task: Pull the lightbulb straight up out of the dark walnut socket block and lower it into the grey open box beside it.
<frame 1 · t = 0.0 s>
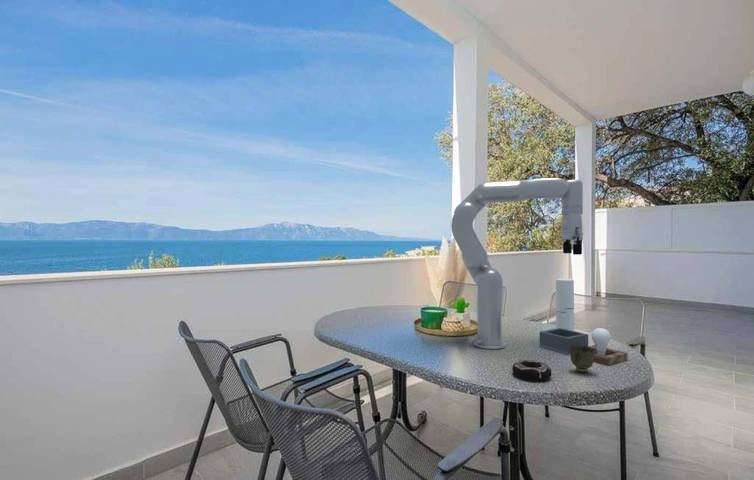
hand: (572, 253, 157), 37 cm above the table, tool pointing down, fingers open, 9 cm apart
donut: (531, 377, 125), on the table
socket block: (601, 358, 142), on the table
grey open box: (563, 348, 155), on the table
lightbulb: (601, 358, 142), resting in socket block
cylindrical container: (564, 335, 174), on the table
cup: (581, 372, 128), on the table
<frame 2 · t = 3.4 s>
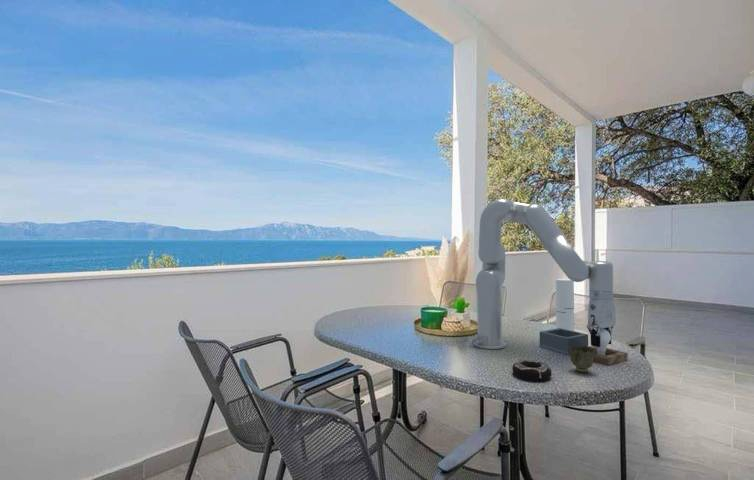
hand: (601, 344, 142), 5 cm above the table, tool pointing down, fingers closed on lightbulb, 6 cm apart
lightbulb: (601, 358, 142), resting in socket block, touching gripper
everything else where it was.
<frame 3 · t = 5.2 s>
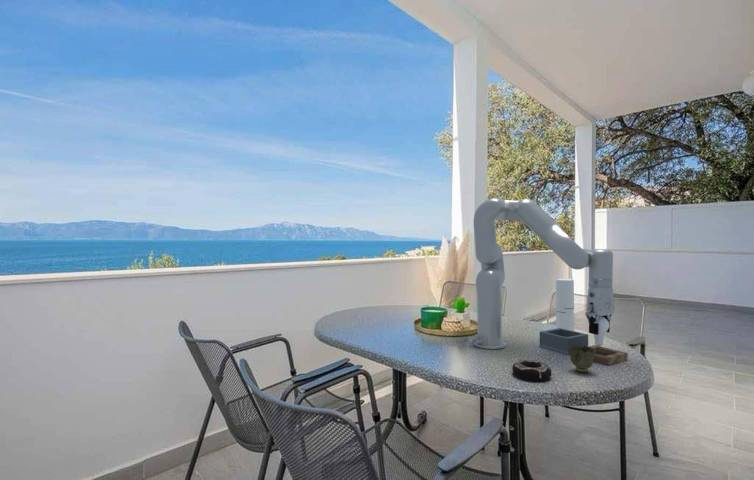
hand: (599, 332, 142), 9 cm above the table, tool pointing down, fingers closed on lightbulb, 6 cm apart
lightbulb: (598, 346, 142), point 4 cm above the table, touching gripper
everything else where it was.
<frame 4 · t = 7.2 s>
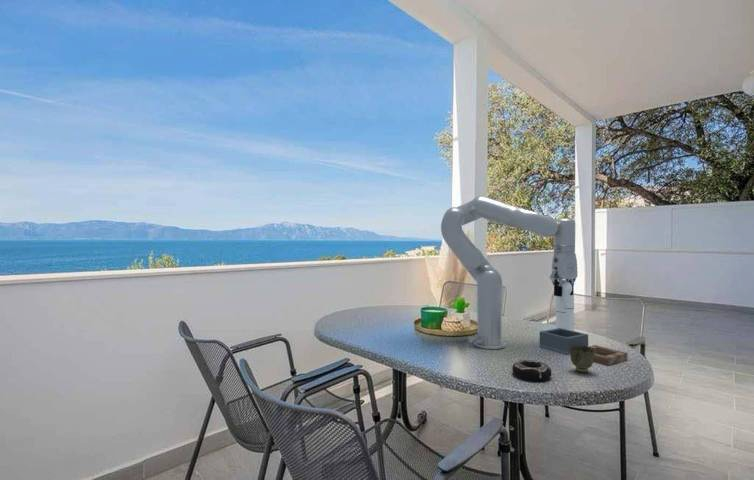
hand: (563, 295, 155), 21 cm above the table, tool pointing down, fingers closed on lightbulb, 6 cm apart
lightbulb: (563, 308, 155), point 16 cm above the table, touching gripper
everything else where it was.
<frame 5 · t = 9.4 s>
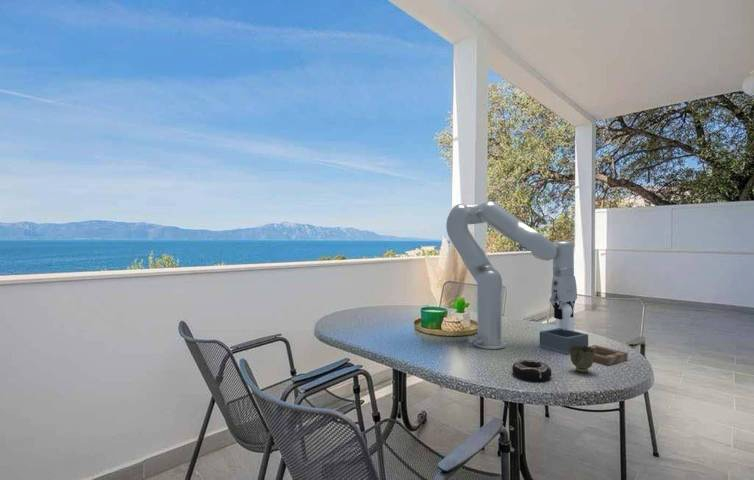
hand: (563, 317, 155), 12 cm above the table, tool pointing down, fingers closed on lightbulb, 6 cm apart
lightbulb: (563, 330, 155), point 7 cm above the table, touching gripper
everything else where it was.
when the fingers open (7 cm above the table, at t = 11.1 s): lightbulb drops 1 cm, resting on grey open box.
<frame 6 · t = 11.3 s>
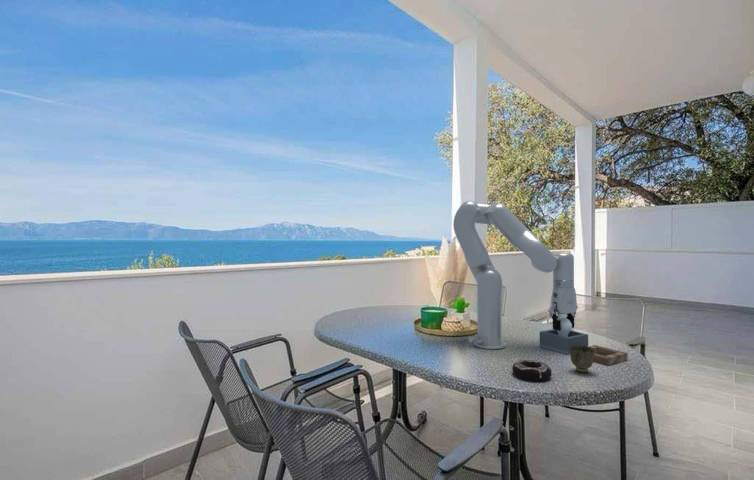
hand: (563, 328, 155), 8 cm above the table, tool pointing down, fingers open, 7 cm apart
lightbulb: (563, 345, 155), point 1 cm above the table, touching grey open box
everything else where it was.
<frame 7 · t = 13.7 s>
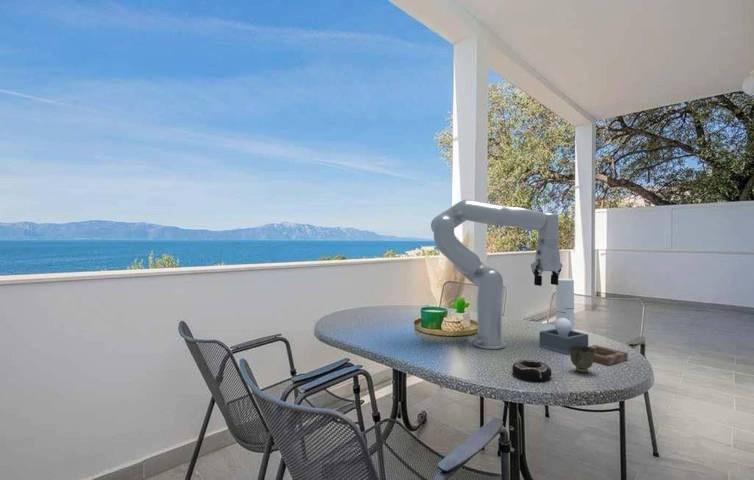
hand: (546, 284, 160), 24 cm above the table, tool pointing down, fingers open, 9 cm apart
nothing on the table moved.
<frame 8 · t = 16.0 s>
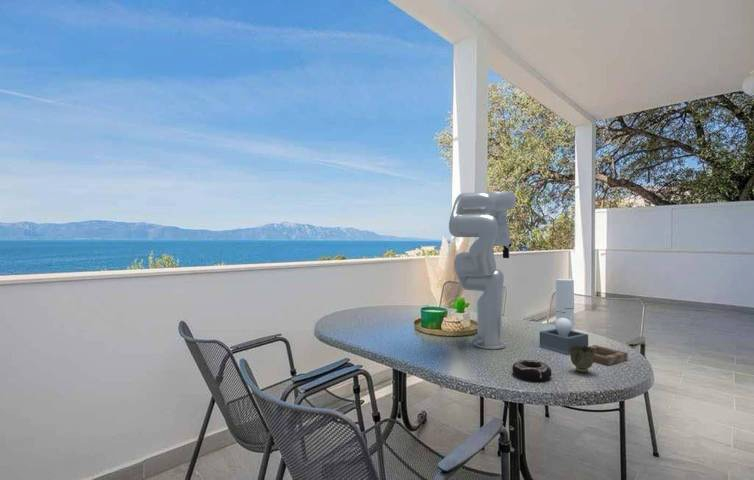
hand: (498, 258, 179), 34 cm above the table, tool pointing down, fingers open, 9 cm apart
nothing on the table moved.
at the end: lightbulb 0.1 cm off-centre on the grey open box, point 0.8 cm above the grey open box's base; lightbulb tilted 1°; the gripper is holding nothing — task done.
